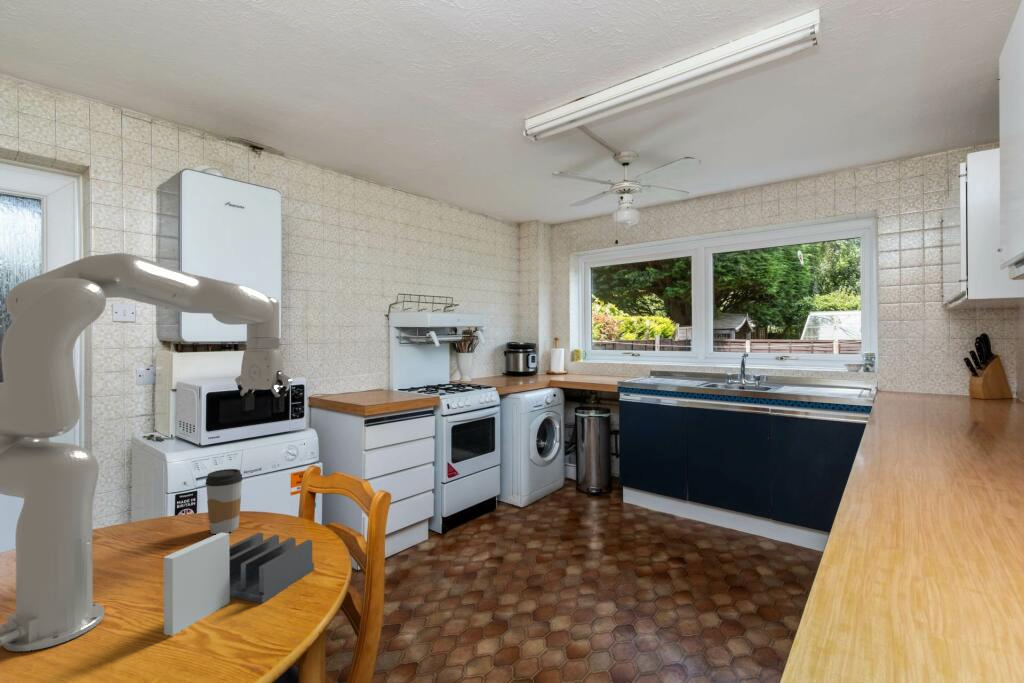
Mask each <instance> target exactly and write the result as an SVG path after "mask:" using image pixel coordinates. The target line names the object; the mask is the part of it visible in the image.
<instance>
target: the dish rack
mask: <svg viewBox="0 0 1024 683" xmlns="http://www.w3.org/2000/svg"><path fill="white" fill-rule="evenodd" d="M229 568H230V598H232V599H237V600H242V601H247V602H252V603H258V604H264V603H265V602H268V600H270V599H272V598H273V597H275V596H277V595H278V594H279V593H281V592H283V591H284V590H286V589H287V588H289V587H291V584H292V585H293V584H295V583H296V582H297V580H298V581H299V580H301V579H302V578H304V577H306V576H307V575H309V574H310V573H311V571H312V572H313V571H315V562H313V540H312V539H311V540H310V539H307V540H305V541H303V542H301V543H300V544H297V545H296V537H292V536H291V537H289V538H287V539H285V540H284V541H281V542H280V535H278V534H274V535H271V536H270V537H267V538H266V539H264V533H263V532H256V533H255V534H252V535H251V536H249V537H246V538H244V539H242V540H240V541H238V542H236V543H234V544H231V545H229ZM300 578H301V579H300ZM294 582H295V583H294ZM288 586H289V587H288Z"/></svg>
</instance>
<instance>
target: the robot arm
mask: <svg viewBox="0 0 1024 683" xmlns="http://www.w3.org/2000/svg"><path fill="white" fill-rule="evenodd" d="M108 298H109V299H110V298H113V299H114V298H122V299H128V300H132V301H135V302H139V303H143V304H144V303H145V304H148V305H152V306H156V307H160V308H163V309H167V310H170V311H174V312H181V313H187V314H188V313H189V314H209V315H212V317H213V318H214V319H215V320H216V321H218V322H219V323H221V324H225V325H233V326H234V325H246V340H245V342H244V343H245V346H246V350H244V351H243V355H242V358H241V360H242V361H241V365H240V366H241V368H240V369H241V370H240V375H238V376H237V377H235V379H234V380H235V383H236V386H237V389H238V391H239V392H240V394H239V395H240V396H241V397H242V411H243V412H248V411H254V409H255V394H253V393H254V392H255V391H256V390H261V391H262V390H263V391H265V390H271V393H272V394H273V395H274V396H273V397H272V412H273V414H274V413H275V414H276V413H282V412H284V411H285V397H286V396H287V394H288V392H289V391H290V389H291V386H292V383H293V379H292V378H290V377H289V376H288V375H286V374H285V371H284V370H285V369H284V361H283V354H282V351H281V350H280V302H279V300H278V299H277V298H275V297H270V296H267V295H266V294H264V293H262V292H260V291H258V290H255V289H253V288H250V287H248V286H244V285H241V284H237V283H234V282H228V281H224V280H219V279H215V278H211V277H207V276H201V275H197V274H191V273H188V272H185V271H183V270H180V269H177V268H174V267H171V266H168V265H165V264H162V263H159V262H157V261H154V260H151V259H149V258H148V259H147V258H144V257H142V256H138V255H136V254H131V253H125V252H122V253H121V252H120V253H119V252H118V253H108V254H107V253H106V254H95V255H90V256H86V257H83V258H79V259H77V260H75V261H72V262H70V263H67V264H65V265H62V266H60V267H57V268H55V269H53V270H50V271H47V272H44V273H41V274H39V275H36V276H34V277H32V278H29V279H26V280H23V281H21V282H19V283H18V284H16V285H14V287H12V288H11V290H10V291H9V292H8V294H7V296H6V299H5V307H6V310H7V312H8V314H9V316H11V318H13V321H12V322H11V323H10V324H9V327H7V329H6V332H5V334H4V337H3V340H2V343H1V350H0V351H1V352H0V353H1V354H0V356H1V365H2V378H3V381H2V382H0V494H1V495H4V496H7V497H15V498H21V499H23V504H22V508H21V510H20V512H19V513H20V514H19V515H18V519H17V522H16V528H15V612H13V613H11V614H8V615H7V621H6V622H4V623H2V624H1V626H0V647H3V648H4V649H5V648H6V649H5V650H7V651H11V652H18V651H19V652H21V651H22V652H31V650H32V651H36V650H42V649H47V648H50V647H53V646H57V645H60V644H62V643H65V642H68V641H71V640H72V639H75V638H77V637H80V636H81V635H83V634H86V633H87V632H89V631H90V630H92V629H93V628H94V627H96V626H97V625H98V624H100V623H101V621H102V620H103V619H104V617H105V608H104V606H103V605H101V604H99V603H94V599H93V596H94V595H93V592H94V591H93V585H94V582H93V580H94V579H93V578H94V577H93V509H94V501H95V500H94V498H95V493H96V488H97V485H98V480H99V474H100V467H99V463H98V461H97V458H96V456H95V455H94V454H93V453H92V452H91V451H90V450H89V449H87V448H85V447H82V446H81V445H78V444H72V443H64V442H56V441H55V442H54V441H50V438H56V437H59V436H61V435H64V434H67V433H68V432H70V431H71V430H72V429H73V428H75V426H76V425H77V423H78V422H79V419H80V415H81V407H80V400H79V393H78V386H77V381H76V380H77V379H76V373H75V367H74V366H75V365H74V348H75V344H76V342H77V340H78V338H79V337H80V336H81V334H82V332H83V331H84V330H86V329H87V328H88V327H89V326H90V325H91V324H93V323H94V322H96V321H97V320H98V319H99V318H100V317H101V315H102V314H103V313H104V311H105V308H106V307H107V306H106V305H107V299H108Z"/></svg>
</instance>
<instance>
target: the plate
mask: <svg viewBox="0 0 1024 683" xmlns="http://www.w3.org/2000/svg"><path fill="white" fill-rule="evenodd" d="M229 546H230V533H222V532H221V533H219V534H216V535H211V536H209V537H207V538H204V539H203V540H201V541H198V542H195V543H194V544H191V545H188V546H187V547H184V548H181V549H179V550H177V551H175V552H172V553H170V554H167V555H165V556H164V557H163V635H164V634H167V635H174V634H176V633H178V632H180V631H181V630H183V629H185V628H187V627H188V626H190V625H192V624H193V625H195V624H196V623H195V622H197V621H198V622H200V621H202V620H203V619H205V618H206V616H207V617H209V616H210V615H212V614H214V613H215V612H216V610H217V611H218V610H220V609H222V608H223V607H225V606H226V605H228V604H230V603H231V602H230V598H231V597H230V568H229ZM221 607H222V608H221ZM211 613H212V614H211ZM201 619H202V620H201ZM199 620H200V621H199ZM198 622H197V623H198ZM194 623H195V624H194ZM193 625H192V626H193ZM190 627H191V626H190ZM188 628H189V627H188ZM188 628H187V629H188ZM185 630H186V629H185ZM183 631H184V630H183ZM180 633H181V632H180ZM178 634H179V633H178ZM167 635H166V636H167Z"/></svg>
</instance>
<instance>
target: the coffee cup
mask: <svg viewBox="0 0 1024 683" xmlns="http://www.w3.org/2000/svg"><path fill="white" fill-rule="evenodd" d="M243 480H244V479H243V474H242V473H241V470H240V469H237V468H227V469H220V470H215V471H211V472H208V474H207V478H206V479H205V485H206V486H205V487H206V499H207V501H206V502H207V514H208V522H209V532H210V533H211V534H212V533H213V534H219V533H221V532H222V533H228V534H230V533H229V532H231V533H234V532H235V530H236V529H237V530H238V527H240V526H239V525H240V524H239V523H240V514H241V504H242V502H241V501H242V482H243ZM237 530H236V531H237ZM233 531H234V532H233ZM213 534H212V535H213Z"/></svg>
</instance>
